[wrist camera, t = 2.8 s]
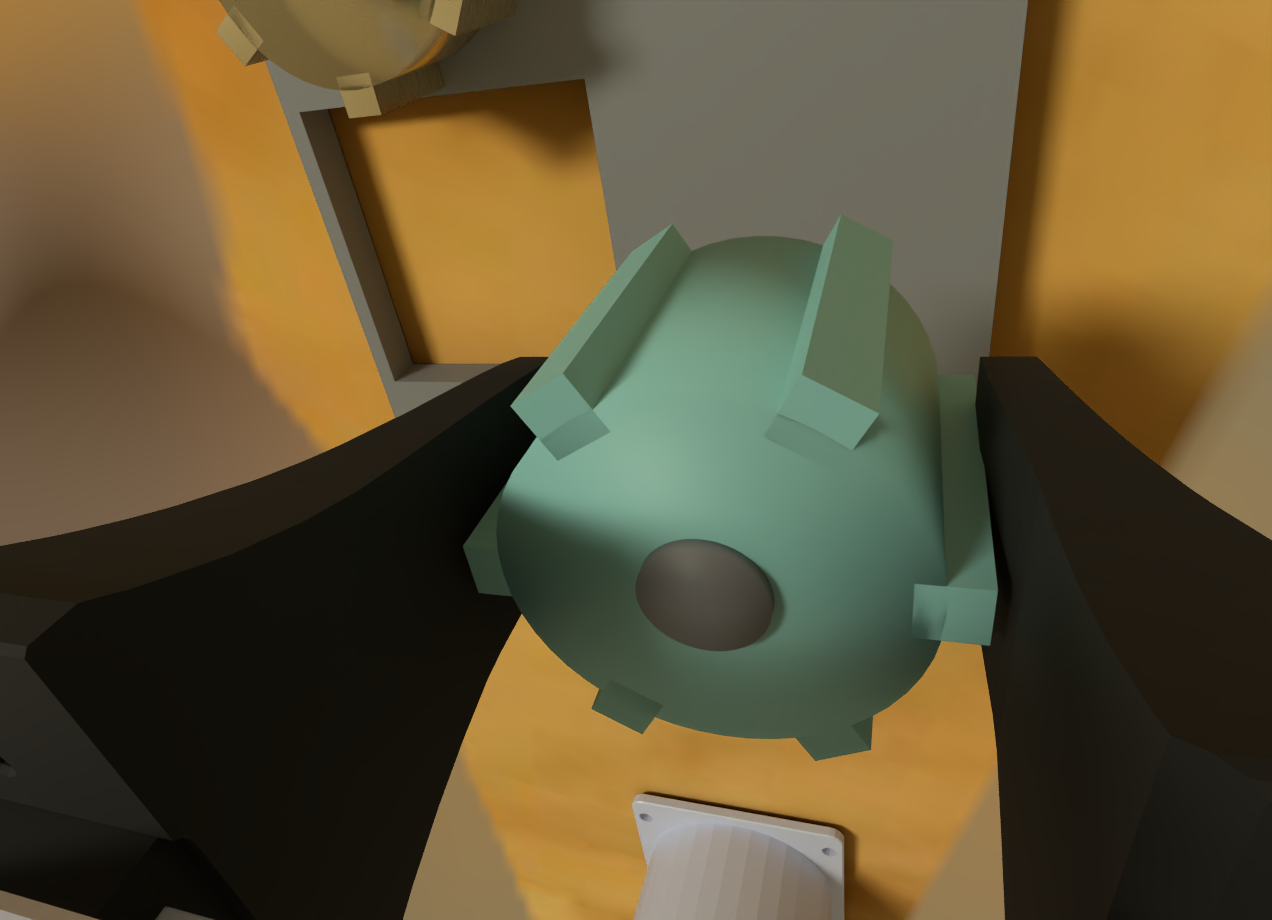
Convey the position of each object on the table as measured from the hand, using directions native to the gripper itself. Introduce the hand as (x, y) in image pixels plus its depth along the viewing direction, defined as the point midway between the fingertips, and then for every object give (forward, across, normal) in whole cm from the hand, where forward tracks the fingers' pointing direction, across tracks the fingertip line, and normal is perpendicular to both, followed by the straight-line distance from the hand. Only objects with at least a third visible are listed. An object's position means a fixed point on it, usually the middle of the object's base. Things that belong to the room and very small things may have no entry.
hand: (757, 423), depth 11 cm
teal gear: (+1, 0, 0) cm, 1 cm away
